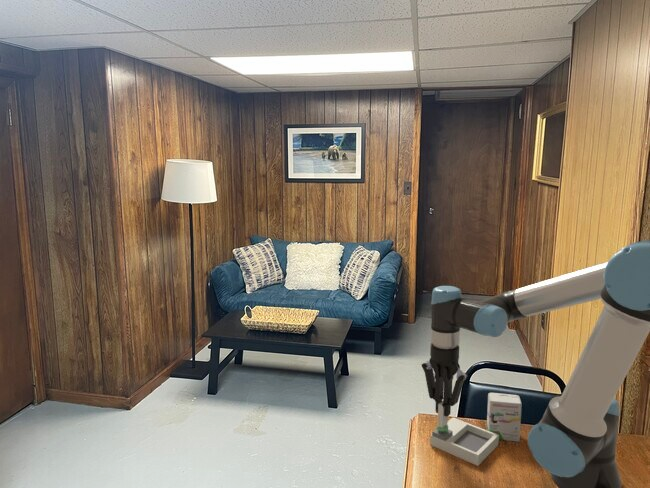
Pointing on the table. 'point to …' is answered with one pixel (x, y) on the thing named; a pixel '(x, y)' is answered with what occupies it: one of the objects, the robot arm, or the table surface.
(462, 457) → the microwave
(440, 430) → the button
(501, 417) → the ink box
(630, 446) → the table surface
